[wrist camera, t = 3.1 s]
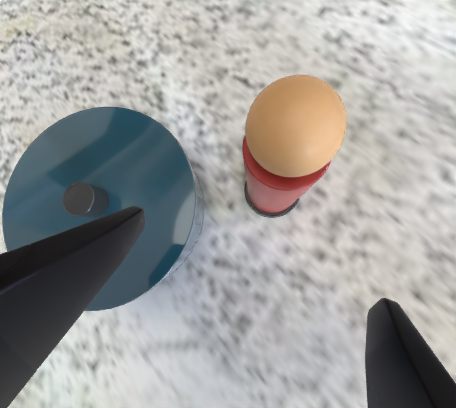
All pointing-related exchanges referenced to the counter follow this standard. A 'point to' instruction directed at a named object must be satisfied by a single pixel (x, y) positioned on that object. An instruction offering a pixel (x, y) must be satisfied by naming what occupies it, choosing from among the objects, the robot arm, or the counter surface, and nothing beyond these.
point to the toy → (290, 141)
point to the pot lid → (106, 192)
